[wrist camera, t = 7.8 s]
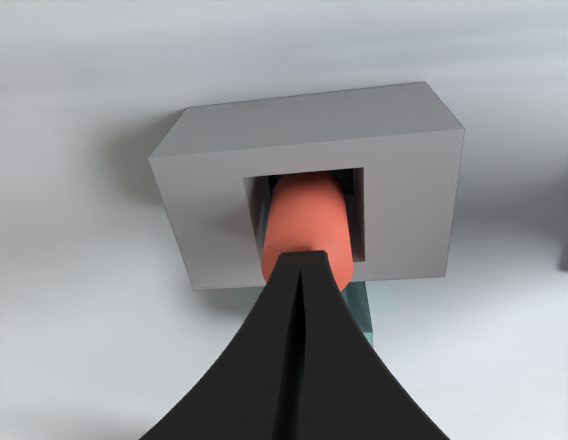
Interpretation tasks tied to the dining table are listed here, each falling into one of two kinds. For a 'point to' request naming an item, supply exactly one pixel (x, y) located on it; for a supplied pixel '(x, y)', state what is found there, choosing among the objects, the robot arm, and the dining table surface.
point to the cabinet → (307, 158)
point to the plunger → (309, 222)
